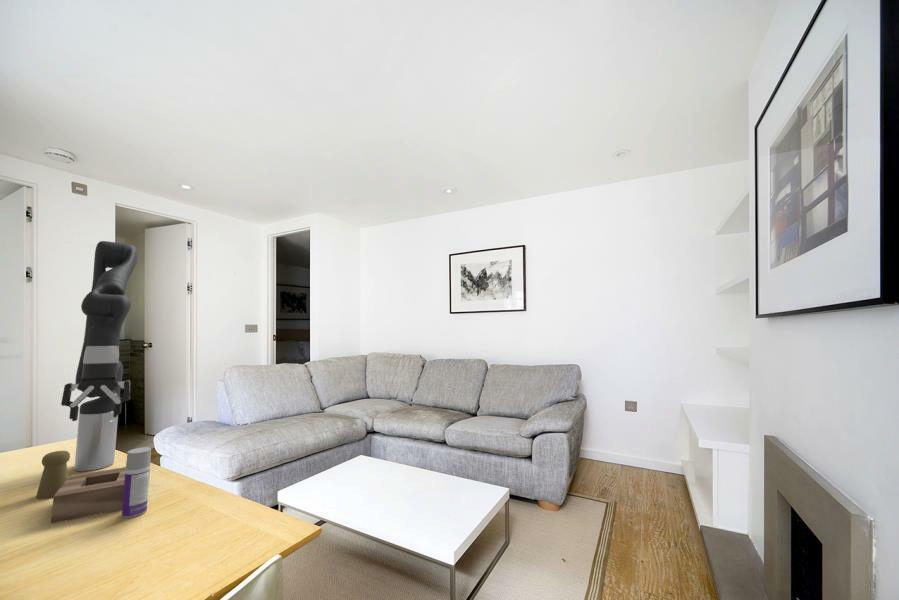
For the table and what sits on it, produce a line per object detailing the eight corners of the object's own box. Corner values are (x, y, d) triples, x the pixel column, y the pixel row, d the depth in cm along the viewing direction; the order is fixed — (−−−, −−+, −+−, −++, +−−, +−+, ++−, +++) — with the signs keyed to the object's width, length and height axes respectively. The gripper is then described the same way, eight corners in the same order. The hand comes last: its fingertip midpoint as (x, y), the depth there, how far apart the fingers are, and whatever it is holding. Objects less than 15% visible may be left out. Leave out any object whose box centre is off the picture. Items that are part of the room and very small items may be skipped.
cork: (32, 496, 97) (36, 453, 98) (64, 487, 102) (67, 446, 103) (40, 501, 94) (44, 457, 95) (72, 492, 99) (76, 450, 100)
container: (120, 513, 89) (125, 450, 90) (145, 506, 93) (149, 445, 94) (122, 520, 86) (128, 454, 87) (148, 513, 89) (153, 450, 91)
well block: (67, 499, 96) (69, 475, 96) (137, 486, 103) (139, 465, 104) (50, 523, 84) (53, 496, 84) (131, 507, 92) (133, 482, 92)
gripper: (134, 360, 115) (129, 413, 113) (70, 362, 107) (64, 419, 105) (131, 361, 109) (126, 417, 107) (63, 363, 101) (56, 424, 99)
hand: (95, 418), depth 106 cm, fingers open, 8 cm apart
